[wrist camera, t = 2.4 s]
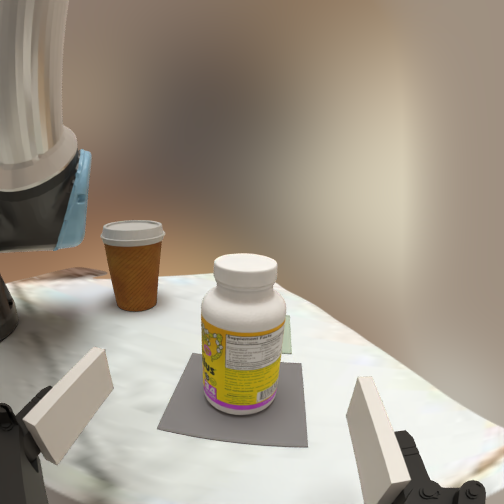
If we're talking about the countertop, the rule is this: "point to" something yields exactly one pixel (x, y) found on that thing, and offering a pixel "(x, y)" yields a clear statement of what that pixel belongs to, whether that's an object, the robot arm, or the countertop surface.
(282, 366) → the mat
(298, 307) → the countertop surface
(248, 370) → the supplement bottle
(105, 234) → the disposable coffee cup
